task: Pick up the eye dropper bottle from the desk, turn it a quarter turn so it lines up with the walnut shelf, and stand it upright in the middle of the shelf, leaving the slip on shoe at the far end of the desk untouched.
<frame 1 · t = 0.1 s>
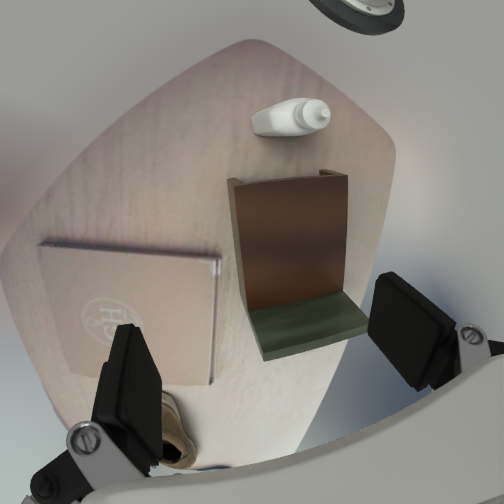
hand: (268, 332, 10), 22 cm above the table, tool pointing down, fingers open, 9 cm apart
shelf: (282, 230, 33), on the table
eye dropper bottle: (274, 121, 28), on the table
slip on shoe: (165, 429, 45), on the table
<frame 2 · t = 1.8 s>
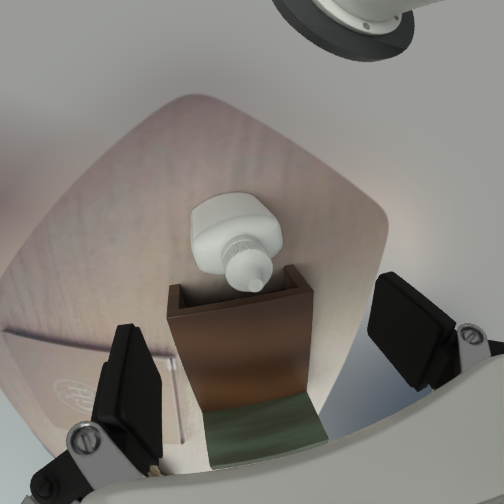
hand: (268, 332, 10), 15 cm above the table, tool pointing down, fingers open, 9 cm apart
shelf: (240, 331, 29), on the table
eye dropper bottle: (224, 212, 23), on the table
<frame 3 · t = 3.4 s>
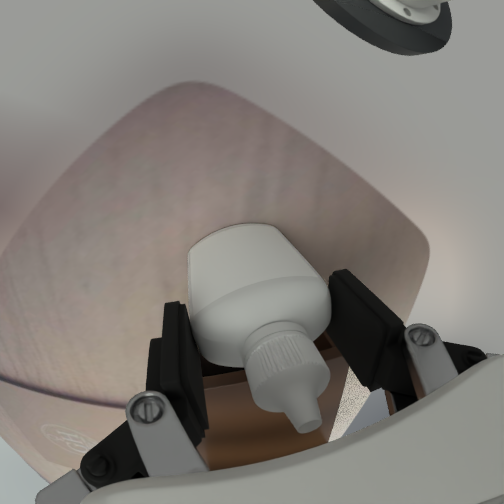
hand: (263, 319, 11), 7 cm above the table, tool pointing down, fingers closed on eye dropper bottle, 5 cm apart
shelf: (252, 385, 22), on the table
eye dropper bottle: (234, 250, 17), on the table, touching gripper
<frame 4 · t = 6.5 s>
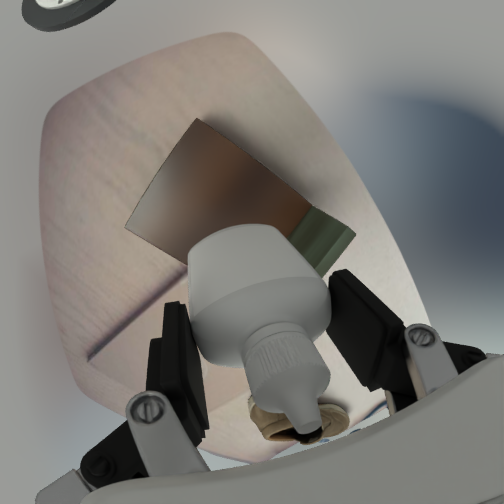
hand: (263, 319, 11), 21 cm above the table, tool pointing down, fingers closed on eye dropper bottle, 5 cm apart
shelf: (215, 202, 30), on the table
eye dropper bottle: (234, 250, 17), point 14 cm above the table, touching gripper
slip on shoe: (302, 409, 50), on the table
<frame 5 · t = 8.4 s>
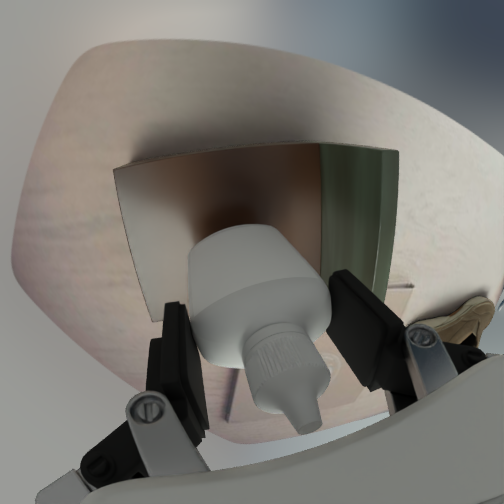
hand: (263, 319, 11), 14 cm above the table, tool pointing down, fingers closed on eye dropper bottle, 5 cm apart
shelf: (220, 217, 23), on the table
eye dropper bottle: (234, 250, 17), point 7 cm above the table, touching gripper
slip on shoe: (446, 323, 40), on the table
when the fingers open (12 cm above the table, at t = 9.6 s): eye dropper bottle stays where it is, resting on shelf.
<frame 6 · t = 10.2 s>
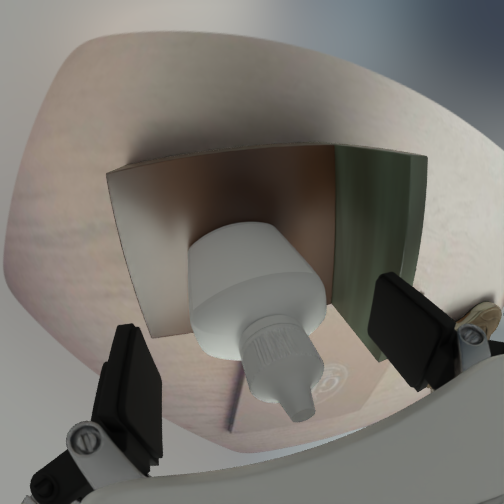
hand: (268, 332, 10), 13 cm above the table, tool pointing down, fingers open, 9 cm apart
shelf: (224, 225, 22), on the table
eye dropper bottle: (233, 247, 17), point 5 cm above the table, touching shelf
slip on shoe: (454, 330, 38), on the table
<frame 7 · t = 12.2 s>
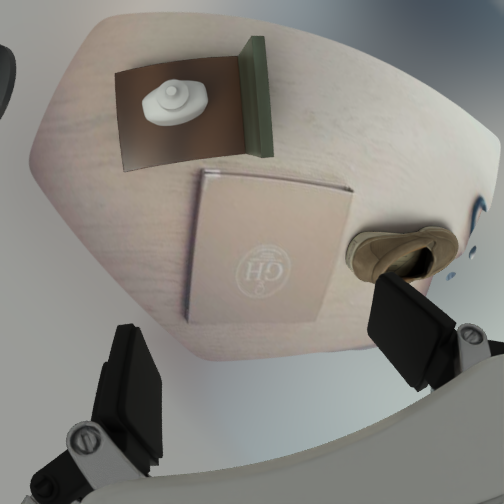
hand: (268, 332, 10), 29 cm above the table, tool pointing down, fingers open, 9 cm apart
shelf: (180, 113, 31), on the table
eye dropper bottle: (178, 109, 26), point 5 cm above the table, touching shelf
slip on shoe: (404, 248, 48), on the table
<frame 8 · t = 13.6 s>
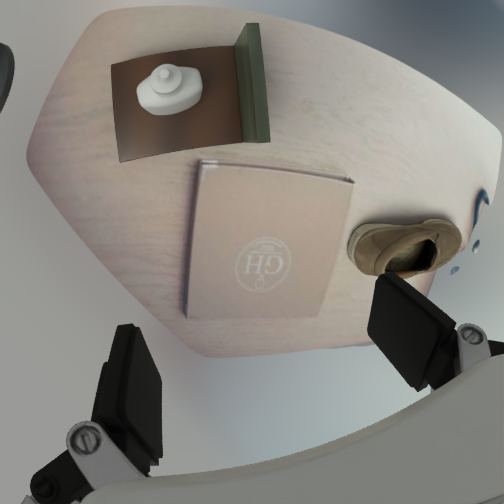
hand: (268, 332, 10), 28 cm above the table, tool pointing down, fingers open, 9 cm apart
shelf: (176, 104, 30), on the table
eye dropper bottle: (174, 99, 25), point 5 cm above the table, touching shelf
slip on shoe: (407, 241, 46), on the table
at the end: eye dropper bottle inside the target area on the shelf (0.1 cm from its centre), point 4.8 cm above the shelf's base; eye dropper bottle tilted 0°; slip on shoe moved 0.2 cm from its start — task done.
